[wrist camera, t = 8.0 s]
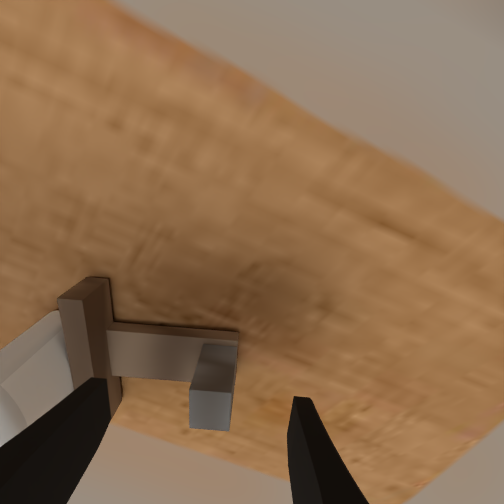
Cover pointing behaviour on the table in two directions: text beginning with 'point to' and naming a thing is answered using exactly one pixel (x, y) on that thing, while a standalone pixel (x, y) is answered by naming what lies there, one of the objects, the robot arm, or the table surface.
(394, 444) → the table surface
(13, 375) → the eye dropper bottle
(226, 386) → the grey hook bracket
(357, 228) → the table surface
